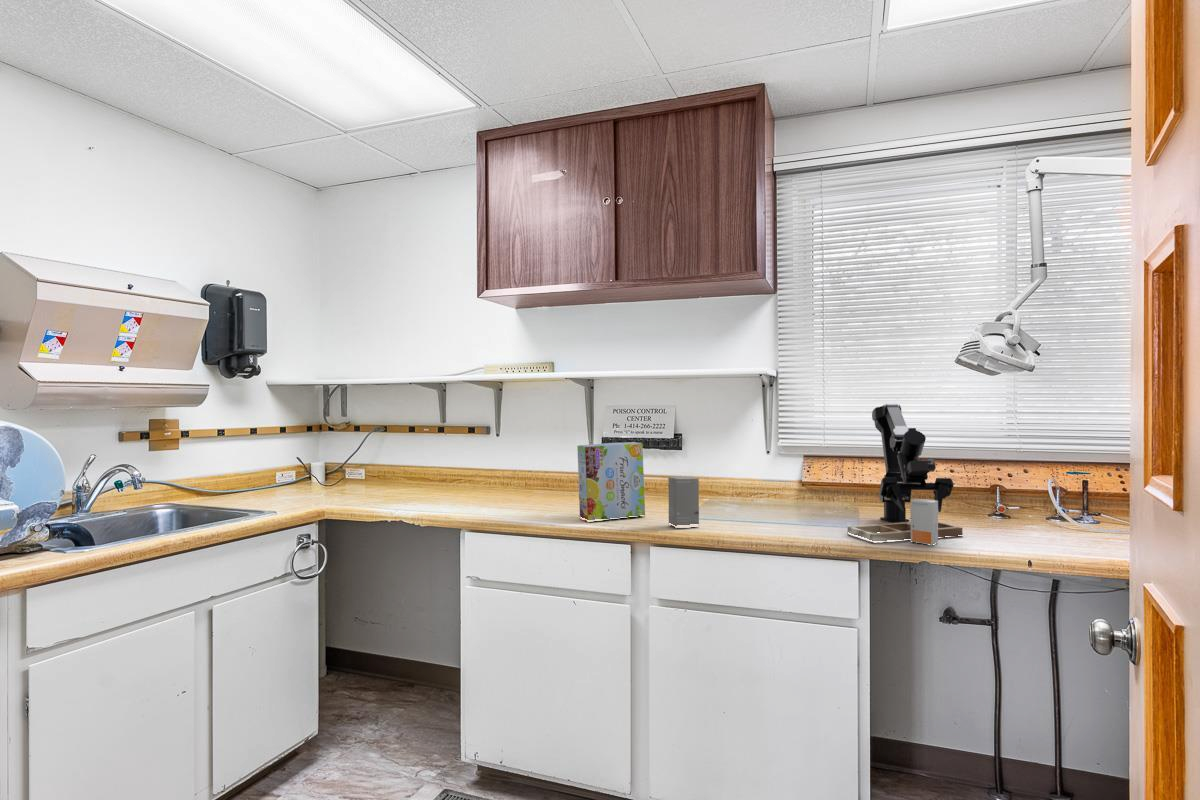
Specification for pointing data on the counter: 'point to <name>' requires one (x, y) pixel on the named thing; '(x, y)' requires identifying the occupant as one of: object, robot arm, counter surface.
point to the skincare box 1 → (683, 500)
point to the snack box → (611, 480)
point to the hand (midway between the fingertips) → (922, 511)
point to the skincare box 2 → (924, 521)
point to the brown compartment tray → (898, 531)
